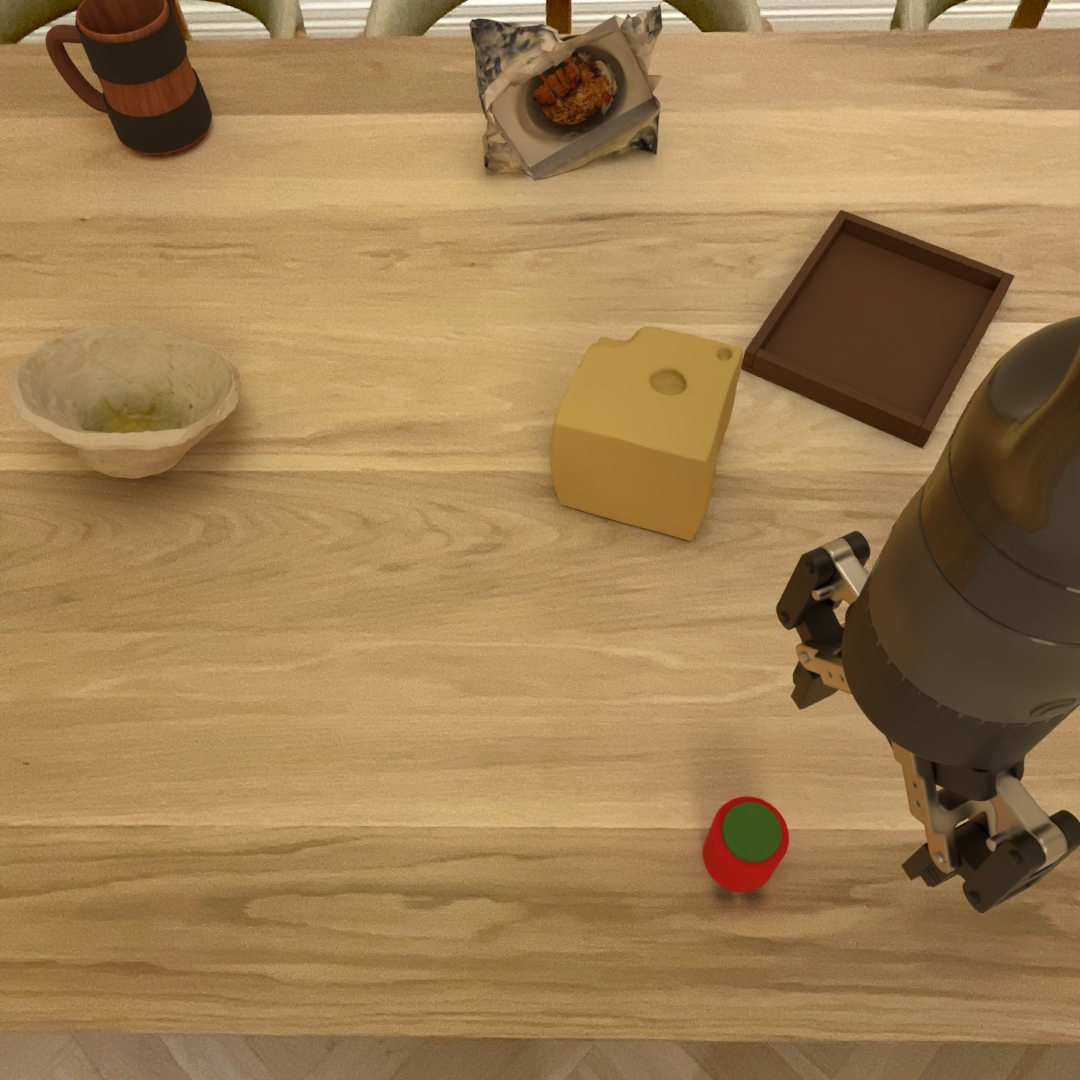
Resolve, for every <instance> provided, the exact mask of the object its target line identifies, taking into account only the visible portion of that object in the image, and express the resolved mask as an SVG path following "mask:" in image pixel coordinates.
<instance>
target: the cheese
mask: <svg viewBox="0 0 1080 1080" xmlns="http://www.w3.org/2000/svg"><path fill="white" fill-rule="evenodd" d="M743 357H744V350H743V348H742V347H741V346H737V345H731V344H728V343H725V342H722V341H718V340H714V339H709V338H706V337H704V336H698V335H695V334H690V333H686V332H681V331H676V330H672V329H667V328H663V327H657V326H653V325H651V326H648V325H647V326H642V327H640V328H639V329H638V330H636V332H635V333H634V335H632V337H630V338H629V339H624V340H623V339H622V340H620V339H615V338H613V337H609V336H600V338H599V339H598V340H597V342H593V343H591V345H590V346H588V348H587V349H586V351H585V353H584V355H583V357H582V359H581V361H580V363H579V365H578V367H577V369H576V371H575V373H574V375H573V378H572V379H571V381H570V382H569V385H568V386H567V388H566V390H565V393H564V394H563V396H562V398H561V401H560V402H559V405H558V408H557V410H556V413H555V417H554V420H553V423H552V431H551V438H550V449H549V466H550V470H551V471H550V472H551V478H552V483H553V488H554V490H555V493H556V496H557V501H558V503H559V504H560V505H562V506H564V507H568V508H572V509H574V510H577V511H582V512H584V513H588V514H591V515H595V516H598V517H602V518H605V519H609V520H613V521H616V522H619V523H623V524H627V525H631V526H635V527H638V528H642V529H646V530H649V531H654V532H658V533H661V534H665V535H668V536H670V537H671V536H672V537H675V538H678V539H681V540H685V541H688V542H690V541H692V540H693V539H694V538H695V535H696V534H697V532H698V530H699V529H700V527H701V525H702V524H703V522H704V518H705V516H706V514H707V511H708V509H709V505H710V501H711V499H712V494H713V490H714V485H715V479H716V473H717V463H718V455H719V452H720V449H721V447H722V444H723V441H724V439H725V436H726V433H727V430H728V428H729V424H730V421H731V418H732V414H733V410H734V405H735V400H736V394H737V387H738V383H739V379H740V375H741V372H742V369H741V367H742V363H743Z"/></svg>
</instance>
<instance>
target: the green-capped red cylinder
mask: <svg viewBox="0 0 1080 1080" xmlns="http://www.w3.org/2000/svg"><path fill="white" fill-rule="evenodd" d="M789 843H790V833H789V828H788V825H787V822H786V820H785V818H784V816H783V815H782V814H781V812H780V811H779V810H778V808H776V807H775V806H774V805H772V804H771V803H770V802H768V801H766V800H764V799H763V798H760V797H755V796H750V795H749V796H748V795H746V796H738V797H734V798H732V799H729V800H728V801H727V802H725V803H724V804H723V805H721V807H720V808H719V809H718V810H717V812H716V813H715V816H714V818H713V820H712V822H711V825H710V827H709V830H708V833H707V835H706V837H705V841H704V843H703V847H702V857H703V863H704V866H705V868H706V870H707V872H708V873H709V875H710V877H711V878H712V879H713V880H714V881H715V883H717V884H718V885H720V886H721V887H723V888H725V889H726V890H728V891H729V890H730V891H732V892H736V893H749V892H752V891H756V890H758V889H760V888H761V887H763V886H764V885H765V884H766V883H768V881H769V880H770V878H771V877H772V875H773V874H774V872H776V869H777V868H778V866H779V865H780V863H781V862H782V860H784V857H785V856H786V854H787V851H788V849H789Z"/></svg>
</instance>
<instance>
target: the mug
mask: <svg viewBox="0 0 1080 1080" xmlns="http://www.w3.org/2000/svg"><path fill="white" fill-rule="evenodd" d="M74 21H75V22H74V25H73V24H56V25H54V26H52V27H51V28H50V29H49V30H48V31H47V32H46V35H45V38H44V39H45V40H44V41H45V48H46V51H47V53H48V55H49V58H50V59H51V62H52V63H53V66H54V67H55V68H56V71H57V72H58V73H59V75H60V76H61V78H62V79H63V80H64V82H65V83H66V85H67V86H68V87H69V88H70V89H71V90H72V91H73V93H74V94H76V96H77V97H78V98H79V99H80V100H81V101H82V102H83V103H85V104H86V105H87V106H88V107H90V108H92V109H94V110H95V111H98V112H101V113H104V114H107V116H108V118H109V121H110V123H111V125H112V127H113V129H114V132H115V134H116V136H117V138H118V139H119V141H120V142H121V143H122V144H123V145H124V146H125V147H127V148H128V149H130V150H132V151H133V152H135V153H137V154H138V155H140V156H144V157H149V158H168V157H174V156H178V155H181V154H184V153H186V152H188V151H190V150H191V149H193V148H195V147H196V146H197V145H199V144H200V143H201V142H202V141H203V140H204V138H205V137H206V135H207V133H208V131H209V128H210V125H211V123H212V118H213V117H212V115H213V114H212V109H211V106H210V102H209V100H208V97H207V95H206V91H205V90H204V86H203V84H202V82H201V80H200V78H199V75H198V73H197V71H196V70H195V68H193V67H192V64H191V60H190V58H189V56H188V45H187V42H186V40H185V37H184V35H183V32H182V29H181V26H180V25H179V21H178V19H177V17H176V13H175V11H174V7H173V5H172V3H171V0H82V2H81V3H80V4H79V5H78V7H77V9H76V11H75V20H74ZM64 44H80V45H82V47H83V50H84V53H85V54H86V57H87V59H88V61H89V64H90V67H91V70H92V72H93V73H94V74H95V76H97V79H98V82H99V84H100V86H101V88H102V92H101V91H100V90H98V89H97V88H95V87H94V86H93V85H92V84H91V82H89V80H87V78H86V77H85V76H84V75H83V74H82V72H81V71H80V70H79V68H78V67H77V66H76V64H75V63H74V62H73V60H72V58H71V57H70V55H69V53H68V51H67V49H66V47H65V45H64Z"/></svg>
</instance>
